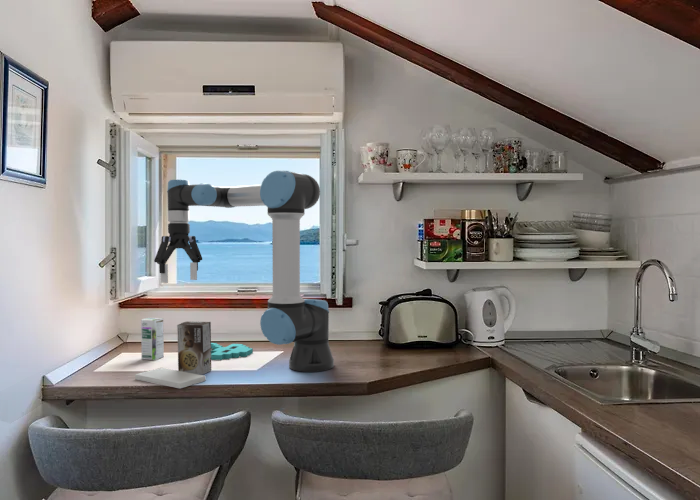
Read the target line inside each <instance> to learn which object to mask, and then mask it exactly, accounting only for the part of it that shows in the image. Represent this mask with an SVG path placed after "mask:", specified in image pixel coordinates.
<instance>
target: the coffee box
mask: <svg viewBox="0 0 700 500" xmlns="http://www.w3.org/2000/svg"><path fill="white" fill-rule="evenodd" d="M211 325H212V322H211V321H184V322H181V323H179V324H177V325H176V328H177V329H176V331H177V366H178V367H177V368H178V369H177V371H182V372H188V373H193V374H198V375H205V374H207V373H209V372H211V371H212V360H211V350H212V348H211V343H212V334H211V333H212V332H211V331H212V329H211Z"/></svg>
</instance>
